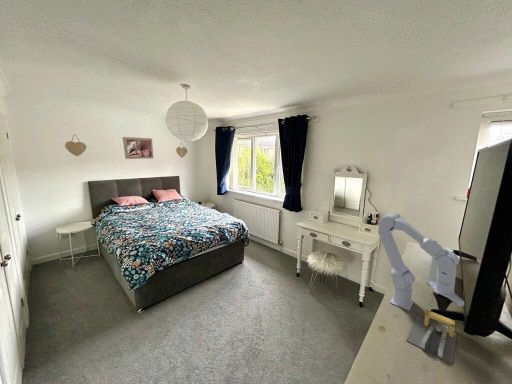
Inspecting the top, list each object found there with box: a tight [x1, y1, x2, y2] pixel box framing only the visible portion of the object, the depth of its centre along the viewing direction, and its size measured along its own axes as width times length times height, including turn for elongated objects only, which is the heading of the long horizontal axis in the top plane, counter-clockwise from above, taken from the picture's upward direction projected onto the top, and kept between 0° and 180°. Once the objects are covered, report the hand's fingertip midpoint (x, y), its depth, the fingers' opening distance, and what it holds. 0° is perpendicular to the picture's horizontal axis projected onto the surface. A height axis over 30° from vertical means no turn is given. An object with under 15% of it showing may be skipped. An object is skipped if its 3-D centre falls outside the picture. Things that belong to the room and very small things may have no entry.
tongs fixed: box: [434, 324, 449, 359], centre depth 80 cm, size 16×3×2 cm, turn 133°
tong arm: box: [420, 326, 434, 352], centre depth 81 cm, size 12×2×2 cm, turn 128°
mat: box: [406, 316, 458, 365], centre depth 83 cm, size 18×13×1 cm
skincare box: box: [428, 247, 454, 283], centre depth 121 cm, size 21×6×16 cm, turn 126°
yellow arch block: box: [424, 309, 456, 338], centre depth 85 cm, size 3×9×6 cm, turn 43°
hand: (442, 310), depth 89 cm, fingers closed
